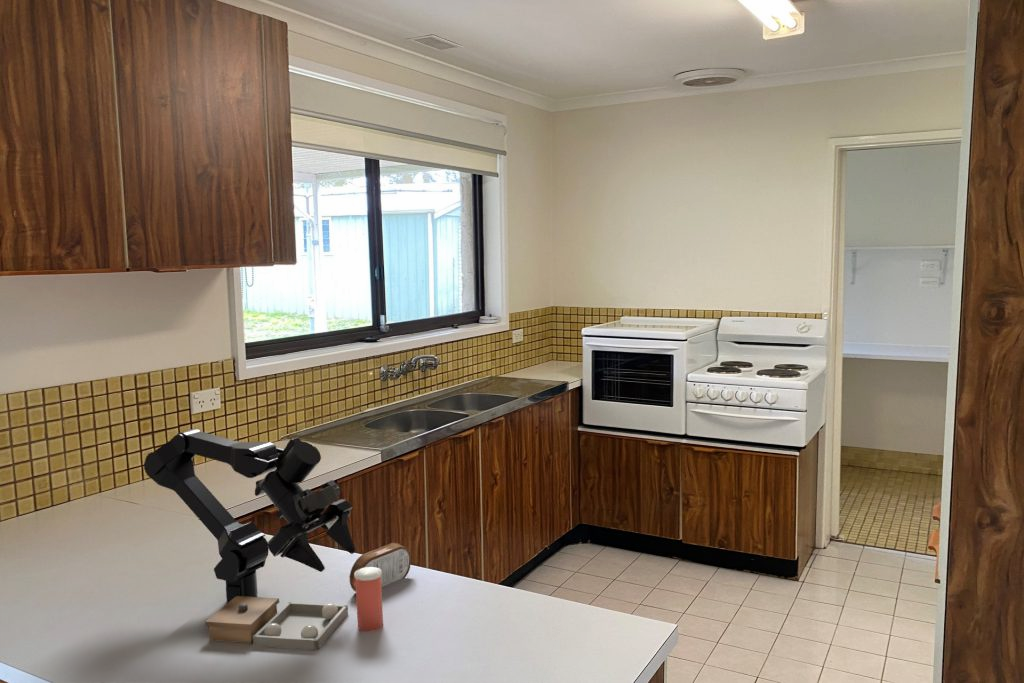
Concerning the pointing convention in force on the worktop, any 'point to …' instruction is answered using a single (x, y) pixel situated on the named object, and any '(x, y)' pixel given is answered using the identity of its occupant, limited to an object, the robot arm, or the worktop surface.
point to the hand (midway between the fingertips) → (338, 561)
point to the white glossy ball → (309, 632)
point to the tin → (385, 563)
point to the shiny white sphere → (272, 630)
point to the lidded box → (241, 618)
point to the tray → (300, 626)
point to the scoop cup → (369, 598)
